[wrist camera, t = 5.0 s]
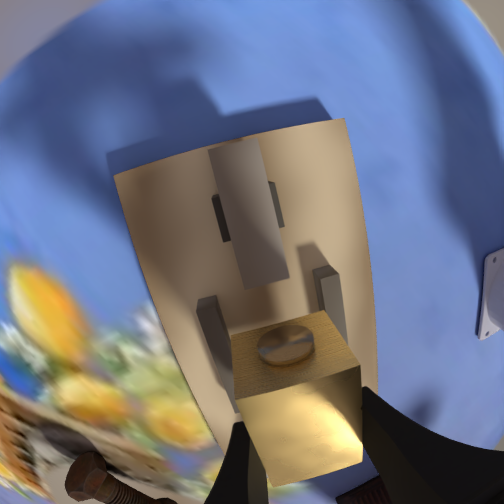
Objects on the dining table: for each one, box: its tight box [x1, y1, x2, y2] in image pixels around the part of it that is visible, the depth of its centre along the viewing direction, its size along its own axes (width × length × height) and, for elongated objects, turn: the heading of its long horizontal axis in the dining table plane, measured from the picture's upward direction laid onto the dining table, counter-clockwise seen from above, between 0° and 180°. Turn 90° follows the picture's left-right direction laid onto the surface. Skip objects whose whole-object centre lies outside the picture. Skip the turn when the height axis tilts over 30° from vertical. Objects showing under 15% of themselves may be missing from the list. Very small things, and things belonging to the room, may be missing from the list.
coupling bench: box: [113, 118, 378, 478], centre depth 17 cm, size 12×22×4 cm, turn 14°
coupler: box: [231, 310, 363, 487], centre depth 11 cm, size 4×7×4 cm, turn 13°
